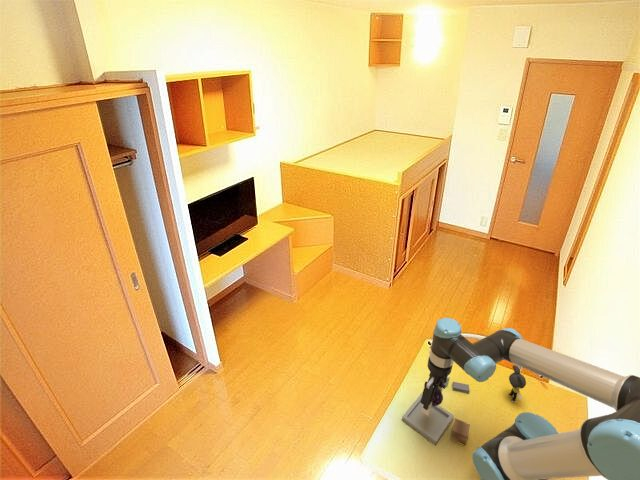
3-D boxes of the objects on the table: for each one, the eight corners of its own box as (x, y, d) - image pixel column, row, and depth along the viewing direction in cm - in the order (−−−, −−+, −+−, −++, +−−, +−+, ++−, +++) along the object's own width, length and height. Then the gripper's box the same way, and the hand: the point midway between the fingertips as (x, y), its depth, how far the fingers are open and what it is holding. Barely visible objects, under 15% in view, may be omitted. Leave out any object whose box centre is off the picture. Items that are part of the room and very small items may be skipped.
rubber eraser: (467, 388, 140) (468, 384, 139) (468, 394, 138) (469, 391, 137) (452, 384, 142) (453, 381, 141) (452, 390, 139) (453, 387, 138)
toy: (522, 408, 132) (534, 381, 124) (508, 408, 132) (518, 381, 125) (512, 389, 139) (522, 363, 132) (498, 389, 139) (508, 362, 132)
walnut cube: (467, 433, 124) (470, 424, 121) (464, 445, 120) (467, 436, 117) (452, 426, 126) (455, 418, 123) (449, 438, 122) (452, 430, 119)
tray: (453, 419, 128) (454, 415, 127) (435, 445, 120) (436, 441, 119) (420, 397, 136) (421, 393, 135) (401, 420, 128) (402, 416, 127)
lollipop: (417, 407, 131) (422, 380, 123) (435, 409, 130) (442, 382, 123) (419, 425, 125) (425, 397, 118) (439, 426, 124) (446, 399, 117)
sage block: (447, 385, 141) (449, 376, 139) (440, 389, 140) (442, 380, 137) (440, 378, 144) (442, 369, 142) (433, 381, 143) (435, 373, 140)
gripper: (444, 338, 122) (434, 382, 133) (414, 371, 109) (406, 417, 120) (465, 349, 117) (453, 394, 128) (437, 385, 105) (426, 432, 116)
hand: (430, 405), depth 124 cm, fingers closed on lollipop, 7 cm apart
